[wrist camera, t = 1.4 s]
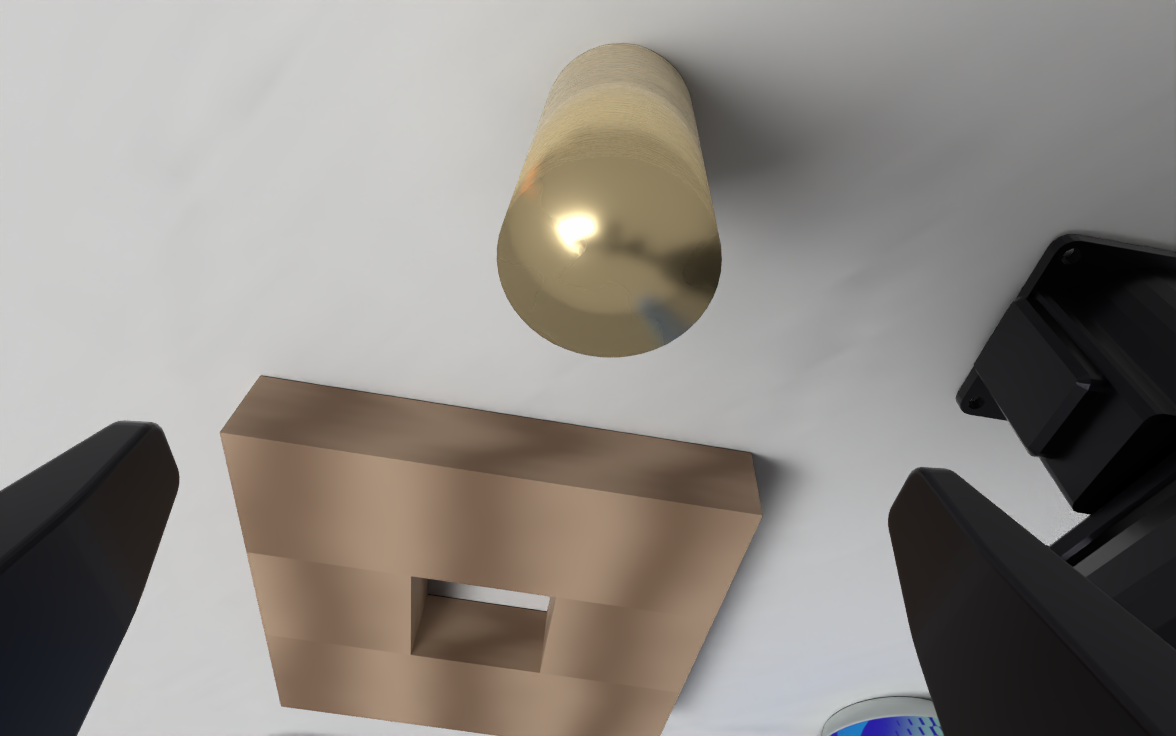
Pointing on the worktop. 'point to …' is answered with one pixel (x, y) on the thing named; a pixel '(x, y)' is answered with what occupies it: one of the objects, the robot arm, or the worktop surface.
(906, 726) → the beer can
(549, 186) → the brass sleeve
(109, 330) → the worktop surface
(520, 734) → the walnut jig
